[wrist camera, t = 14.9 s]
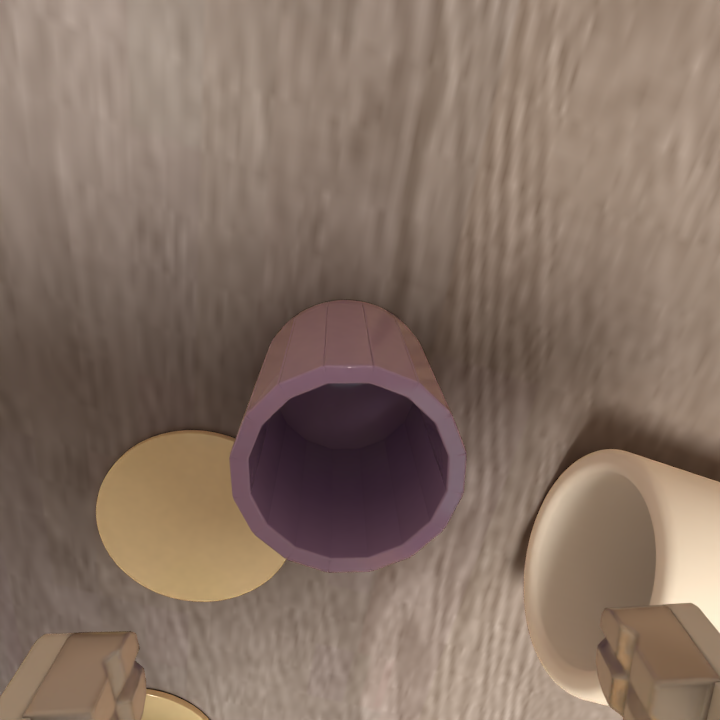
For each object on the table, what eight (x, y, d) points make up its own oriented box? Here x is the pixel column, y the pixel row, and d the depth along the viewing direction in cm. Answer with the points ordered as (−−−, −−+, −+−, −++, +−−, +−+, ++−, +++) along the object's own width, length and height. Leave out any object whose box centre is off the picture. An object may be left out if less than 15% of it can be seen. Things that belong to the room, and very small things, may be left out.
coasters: (67, 810, 29) (64, 817, 28) (-23, 432, 22) (-28, 435, 22) (307, 801, 29) (307, 807, 29) (293, 428, 22) (293, 431, 22)
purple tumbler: (266, 453, 23) (238, 575, 16) (258, 299, 21) (221, 366, 14) (423, 451, 23) (458, 570, 16) (430, 299, 21) (474, 364, 14)
